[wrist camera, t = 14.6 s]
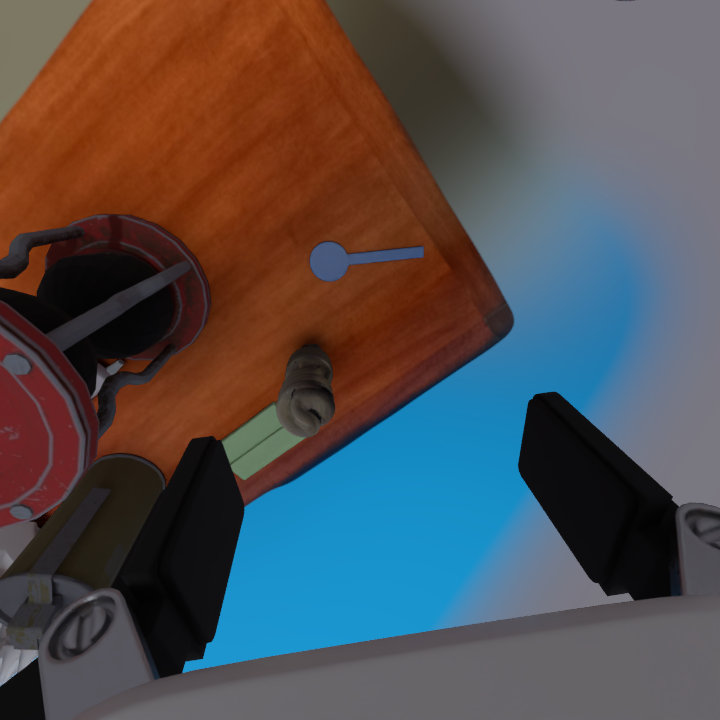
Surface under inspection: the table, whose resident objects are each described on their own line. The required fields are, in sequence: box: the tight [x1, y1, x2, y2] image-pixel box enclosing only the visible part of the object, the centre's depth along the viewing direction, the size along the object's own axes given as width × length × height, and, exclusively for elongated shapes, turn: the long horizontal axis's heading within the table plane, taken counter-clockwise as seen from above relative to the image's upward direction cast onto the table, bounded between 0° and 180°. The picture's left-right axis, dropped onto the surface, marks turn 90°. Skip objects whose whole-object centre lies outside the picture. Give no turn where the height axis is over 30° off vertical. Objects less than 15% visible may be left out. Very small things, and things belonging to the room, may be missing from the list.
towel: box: [221, 402, 305, 480], centre depth 50 cm, size 12×7×1 cm, turn 127°
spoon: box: [310, 241, 424, 281], centre depth 40 cm, size 13×4×1 cm, turn 95°
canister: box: [0, 454, 166, 650], centre depth 42 cm, size 11×10×20 cm
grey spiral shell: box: [276, 344, 335, 438], centre depth 38 cm, size 6×6×15 cm
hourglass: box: [0, 214, 211, 529], centre depth 28 cm, size 16×16×25 cm
